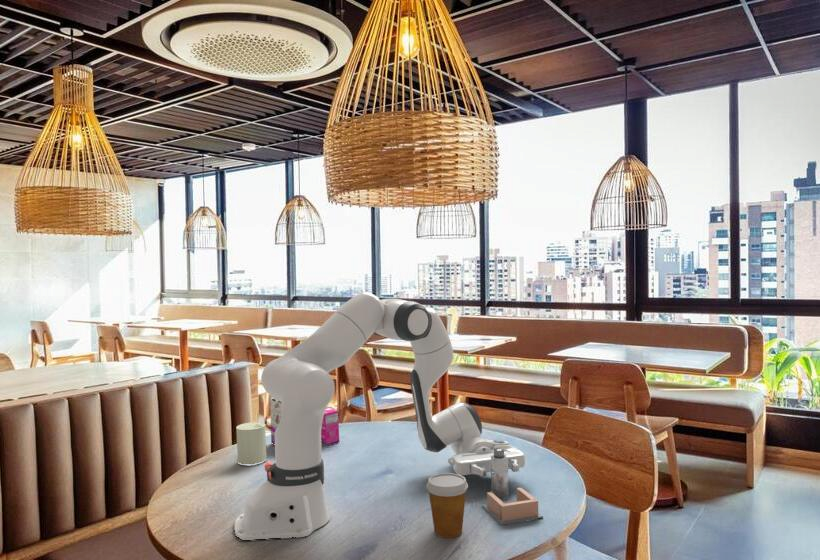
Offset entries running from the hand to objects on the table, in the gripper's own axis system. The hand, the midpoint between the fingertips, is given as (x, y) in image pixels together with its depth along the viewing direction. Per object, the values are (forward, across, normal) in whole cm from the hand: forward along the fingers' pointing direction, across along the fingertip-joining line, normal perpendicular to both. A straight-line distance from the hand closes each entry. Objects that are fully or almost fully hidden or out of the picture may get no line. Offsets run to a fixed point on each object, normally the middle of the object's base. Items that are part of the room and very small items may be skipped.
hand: (500, 471), depth 149 cm
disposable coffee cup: (+15, -20, +7) cm, 26 cm away
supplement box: (-63, -37, +7) cm, 73 cm away
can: (-52, -63, +7) cm, 82 cm away
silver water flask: (-1, 0, +6) cm, 7 cm away
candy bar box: (-65, -52, +7) cm, 83 cm away
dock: (+10, -2, +6) cm, 12 cm away
